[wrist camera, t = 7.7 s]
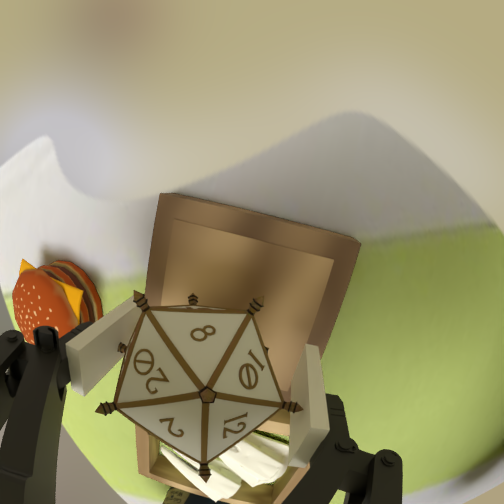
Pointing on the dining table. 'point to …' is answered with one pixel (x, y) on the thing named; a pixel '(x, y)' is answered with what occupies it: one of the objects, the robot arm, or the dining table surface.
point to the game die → (197, 378)
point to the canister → (187, 498)
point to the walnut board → (252, 272)
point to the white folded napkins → (236, 466)
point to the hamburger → (54, 298)
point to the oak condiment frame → (246, 498)
